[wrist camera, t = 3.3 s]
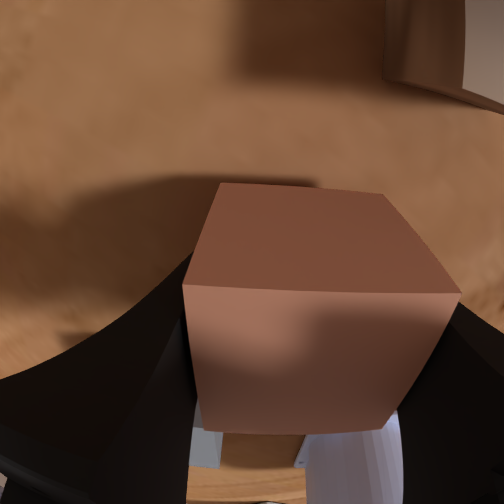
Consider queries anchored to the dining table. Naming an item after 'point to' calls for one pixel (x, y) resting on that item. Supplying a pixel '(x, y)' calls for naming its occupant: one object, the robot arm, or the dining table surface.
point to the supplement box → (269, 503)
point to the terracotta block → (309, 310)
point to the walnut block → (447, 48)
